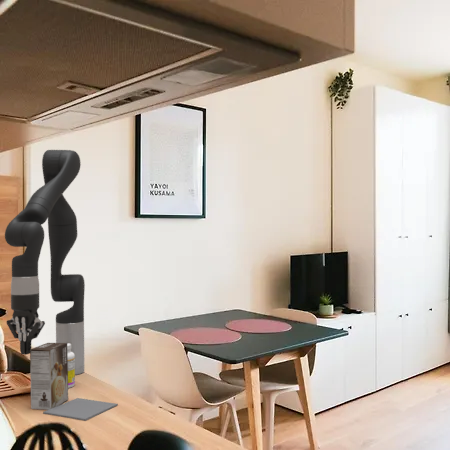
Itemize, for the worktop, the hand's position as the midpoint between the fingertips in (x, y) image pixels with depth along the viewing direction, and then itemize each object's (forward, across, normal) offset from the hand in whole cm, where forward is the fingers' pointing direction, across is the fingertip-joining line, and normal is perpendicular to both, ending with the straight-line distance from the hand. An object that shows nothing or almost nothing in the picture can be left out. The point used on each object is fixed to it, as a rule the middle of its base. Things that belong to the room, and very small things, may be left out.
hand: (25, 353), depth 149 cm
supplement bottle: (+13, 0, -15) cm, 20 cm away
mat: (+13, -20, 0) cm, 24 cm away
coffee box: (+13, -9, 0) cm, 16 cm away
